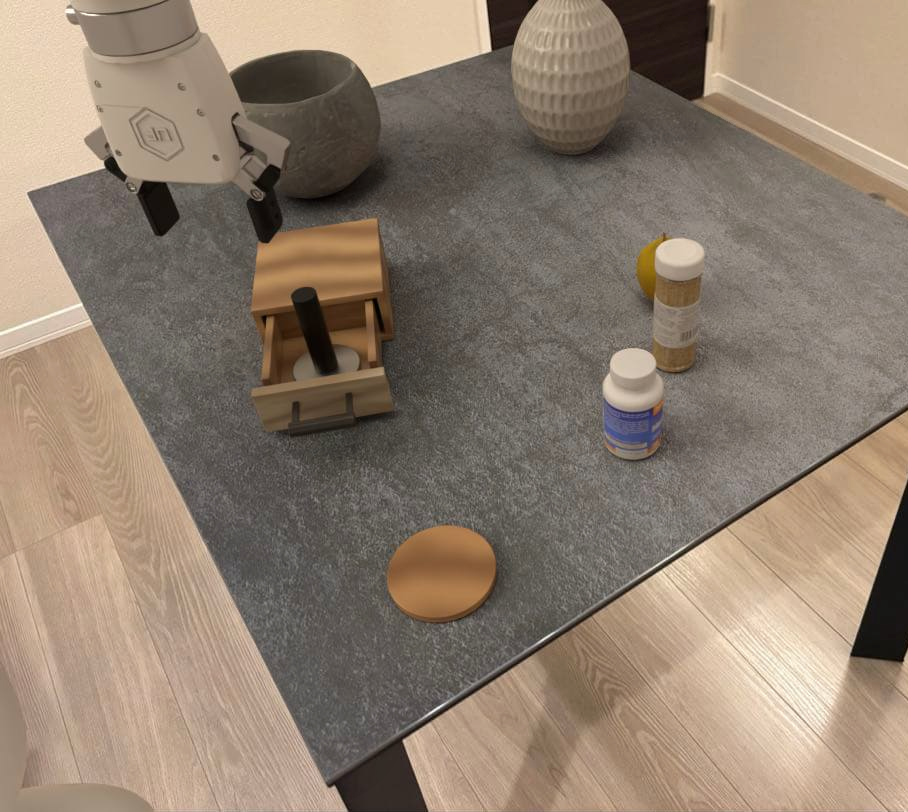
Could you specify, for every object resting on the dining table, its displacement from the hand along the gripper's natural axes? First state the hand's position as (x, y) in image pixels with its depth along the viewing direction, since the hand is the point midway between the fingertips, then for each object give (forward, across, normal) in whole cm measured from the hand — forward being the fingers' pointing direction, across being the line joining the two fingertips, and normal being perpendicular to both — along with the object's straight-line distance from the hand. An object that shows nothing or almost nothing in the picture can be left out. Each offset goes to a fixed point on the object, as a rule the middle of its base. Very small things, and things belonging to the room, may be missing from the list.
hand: (219, 230), depth 70 cm
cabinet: (+20, -1, +15) cm, 25 cm away
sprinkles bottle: (+20, +38, +11) cm, 45 cm away
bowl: (+20, -14, +43) cm, 50 cm away
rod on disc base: (+18, +4, +3) cm, 19 cm away
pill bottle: (+20, +36, 0) cm, 41 cm away
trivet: (+20, +22, -18) cm, 35 cm away
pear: (+20, +36, +21) cm, 47 cm away
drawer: (+19, +5, +1) cm, 20 cm away
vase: (+20, +20, +57) cm, 64 cm away
